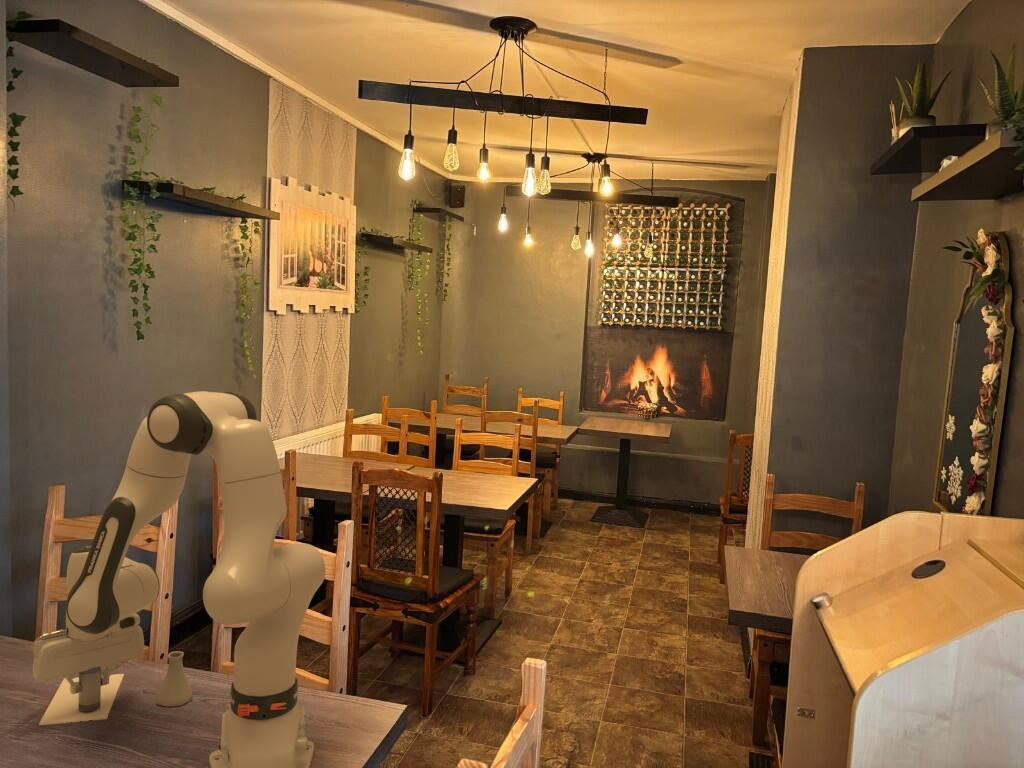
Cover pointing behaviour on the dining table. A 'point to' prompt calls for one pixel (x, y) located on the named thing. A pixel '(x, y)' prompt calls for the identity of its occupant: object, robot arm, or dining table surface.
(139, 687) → the dining table surface
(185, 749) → the dining table surface
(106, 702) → the paper
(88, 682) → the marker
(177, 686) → the flask
